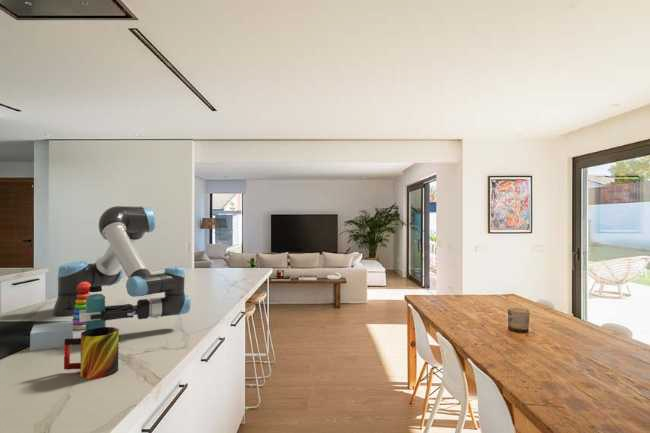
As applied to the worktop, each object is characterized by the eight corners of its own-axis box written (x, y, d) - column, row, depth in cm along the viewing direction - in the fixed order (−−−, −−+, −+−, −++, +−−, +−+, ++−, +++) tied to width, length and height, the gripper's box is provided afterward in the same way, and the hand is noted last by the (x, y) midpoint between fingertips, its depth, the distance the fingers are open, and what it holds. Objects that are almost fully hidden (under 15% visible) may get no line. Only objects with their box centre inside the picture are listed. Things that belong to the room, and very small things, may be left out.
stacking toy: (83, 331, 156) (83, 283, 156) (66, 329, 158) (66, 283, 158) (98, 325, 164) (98, 280, 164) (81, 324, 165) (82, 280, 166)
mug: (64, 372, 115) (64, 331, 115) (117, 364, 122) (117, 325, 122) (61, 384, 107) (62, 340, 107) (119, 375, 114) (119, 333, 114)
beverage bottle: (109, 338, 147) (110, 284, 148) (94, 343, 141) (94, 287, 141) (96, 336, 149) (97, 283, 150) (80, 341, 143) (81, 286, 143)
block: (72, 336, 149) (72, 320, 149) (72, 345, 139) (72, 328, 139) (33, 341, 143) (33, 325, 143) (30, 351, 132) (30, 333, 132)
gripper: (152, 323, 147) (79, 332, 134) (145, 312, 163) (79, 320, 150) (152, 303, 147) (79, 310, 134) (145, 294, 163) (79, 300, 150)
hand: (79, 315), depth 142 cm, fingers closed on beverage bottle, 6 cm apart
